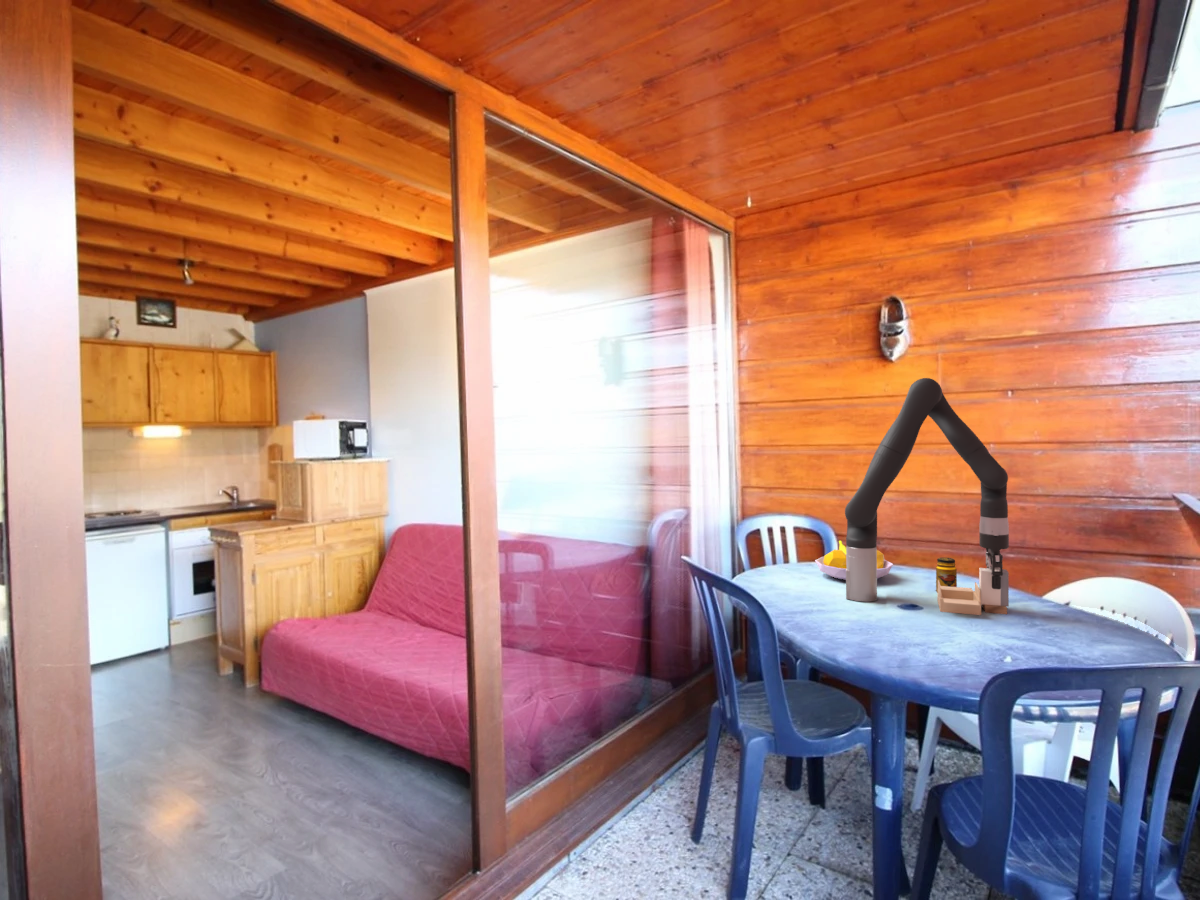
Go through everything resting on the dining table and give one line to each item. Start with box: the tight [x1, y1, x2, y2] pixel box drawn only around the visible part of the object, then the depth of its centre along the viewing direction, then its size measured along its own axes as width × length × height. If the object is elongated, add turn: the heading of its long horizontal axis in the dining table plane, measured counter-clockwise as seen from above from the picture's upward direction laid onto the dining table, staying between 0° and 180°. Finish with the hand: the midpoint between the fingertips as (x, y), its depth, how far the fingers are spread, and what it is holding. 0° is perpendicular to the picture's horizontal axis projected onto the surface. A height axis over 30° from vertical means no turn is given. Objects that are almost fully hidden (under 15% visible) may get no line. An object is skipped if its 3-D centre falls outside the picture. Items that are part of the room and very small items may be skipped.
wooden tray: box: [936, 580, 982, 616], centre depth 197 cm, size 11×21×8 cm, turn 156°
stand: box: [981, 604, 1008, 615], centre depth 194 cm, size 6×8×2 cm
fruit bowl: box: [814, 540, 894, 581], centre depth 241 cm, size 28×27×11 cm
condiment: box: [934, 557, 958, 593], centre depth 215 cm, size 7×8×12 cm
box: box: [978, 567, 1010, 607], centre depth 194 cm, size 7×4×10 cm, turn 65°
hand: (994, 585), depth 194 cm, fingers open, 8 cm apart
